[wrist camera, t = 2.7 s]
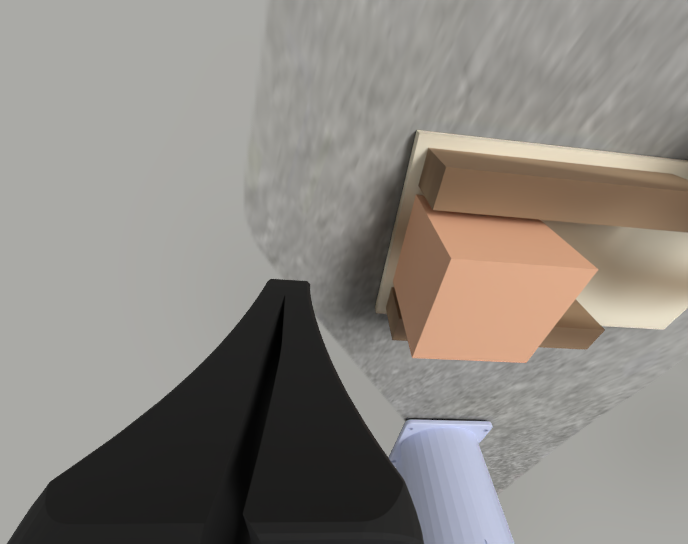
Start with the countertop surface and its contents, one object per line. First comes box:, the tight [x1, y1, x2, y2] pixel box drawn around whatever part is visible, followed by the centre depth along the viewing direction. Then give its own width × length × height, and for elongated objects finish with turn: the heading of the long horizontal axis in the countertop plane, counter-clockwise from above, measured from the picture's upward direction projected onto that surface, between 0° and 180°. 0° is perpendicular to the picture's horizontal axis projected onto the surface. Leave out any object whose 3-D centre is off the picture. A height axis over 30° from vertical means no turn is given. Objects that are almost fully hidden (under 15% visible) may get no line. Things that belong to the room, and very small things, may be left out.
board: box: [375, 130, 688, 329], centre depth 16 cm, size 10×19×1 cm, turn 84°
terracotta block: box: [393, 194, 599, 363], centre depth 13 cm, size 5×5×5 cm
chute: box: [386, 148, 688, 349], centre depth 14 cm, size 9×11×2 cm
